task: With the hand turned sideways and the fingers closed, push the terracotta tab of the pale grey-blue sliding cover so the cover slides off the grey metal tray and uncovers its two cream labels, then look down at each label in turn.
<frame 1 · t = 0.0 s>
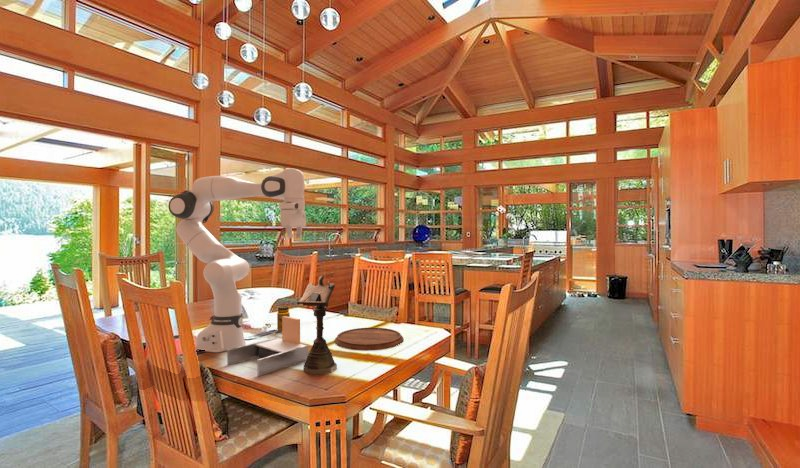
hand: (294, 237, 173), 48 cm above the table, tool pointing down, fingers open, 8 cm apart
grey metal tray: (281, 358, 161), on the table
cutting board: (369, 341, 187), on the table
sliding cover: (281, 333, 161), point 10 cm above the table, slide at 0.0 cm
condiment: (282, 330, 206), on the table
dark ornate pedestal stand: (319, 371, 146), on the table
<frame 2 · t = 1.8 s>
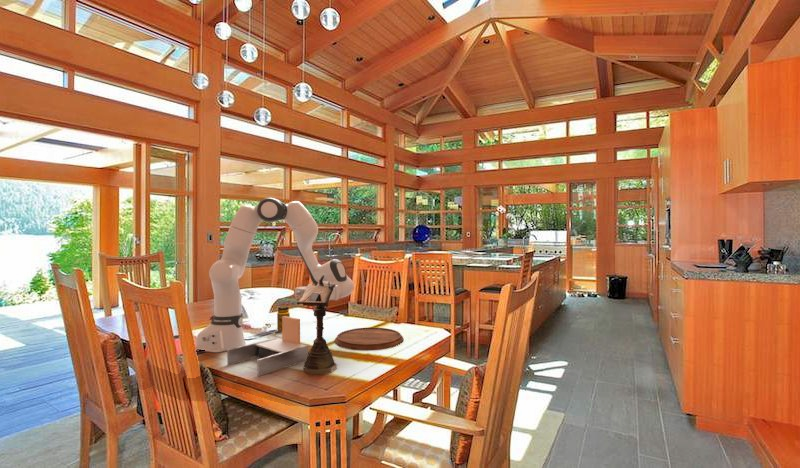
hand: (300, 295, 169), 24 cm above the table, tool horizontal, fingers open, 5 cm apart
nothing on the table moved.
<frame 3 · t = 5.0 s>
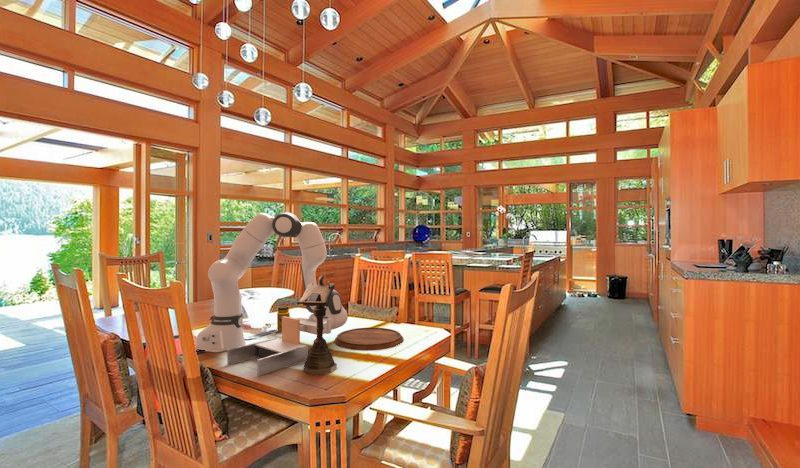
hand: (291, 329, 165), 10 cm above the table, tool horizontal, fingers closed, pressing on sliding cover
sliding cover: (280, 333, 161), point 10 cm above the table, slide at 0.2 cm, touching gripper
everything else where it was.
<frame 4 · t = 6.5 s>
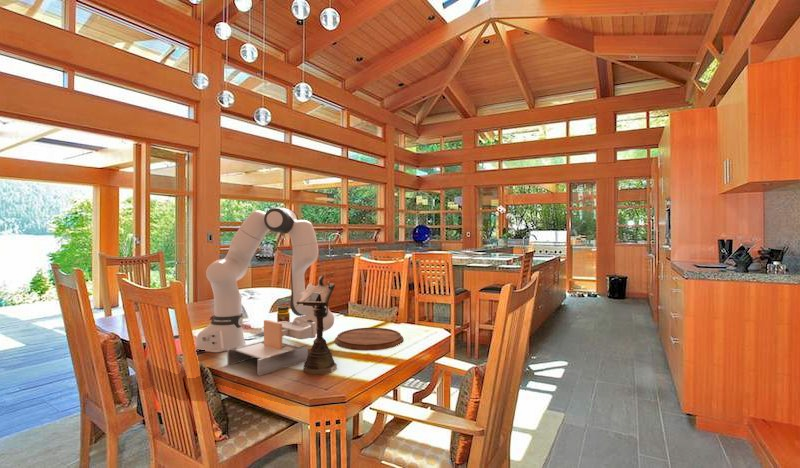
hand: (274, 333, 159), 10 cm above the table, tool horizontal, fingers closed, pressing on sliding cover
sliding cover: (262, 337, 154), point 10 cm above the table, slide at 8.8 cm, touching gripper
everything else where it was.
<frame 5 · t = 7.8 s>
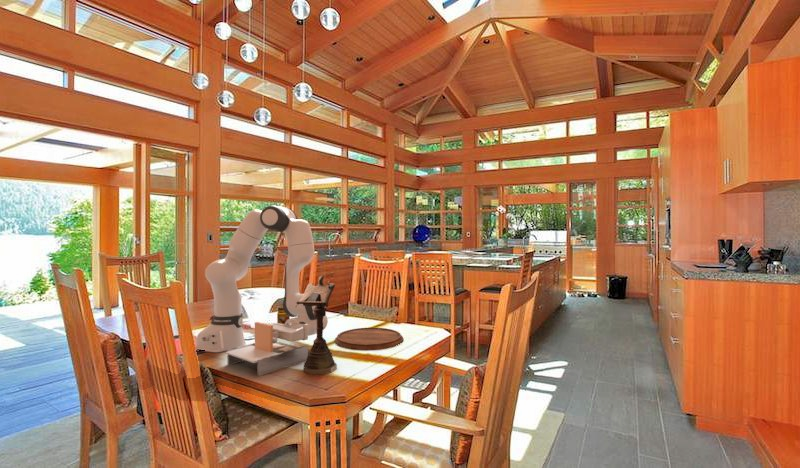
hand: (265, 335, 155), 10 cm above the table, tool horizontal, fingers closed, pressing on sliding cover
sliding cover: (252, 340, 151), point 10 cm above the table, slide at 12.9 cm, touching gripper
everything else where it was.
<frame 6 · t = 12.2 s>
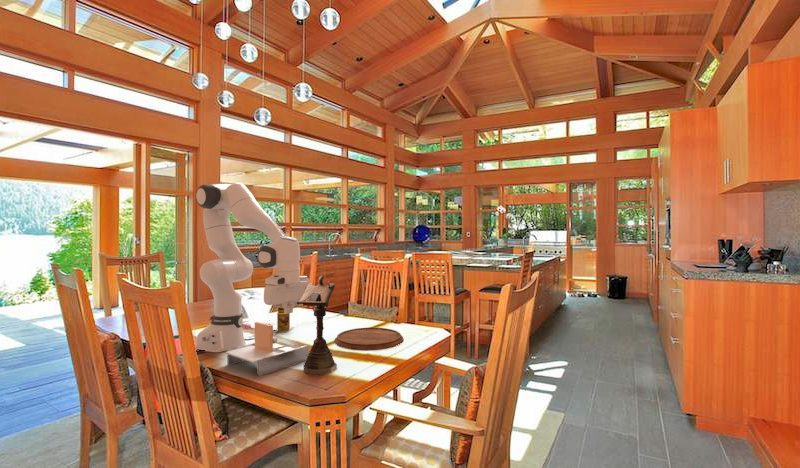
hand: (288, 313, 157), 19 cm above the table, tool pointing down, fingers closed
sliding cover: (252, 340, 151), point 10 cm above the table, slide at 12.9 cm
everything else where it was.
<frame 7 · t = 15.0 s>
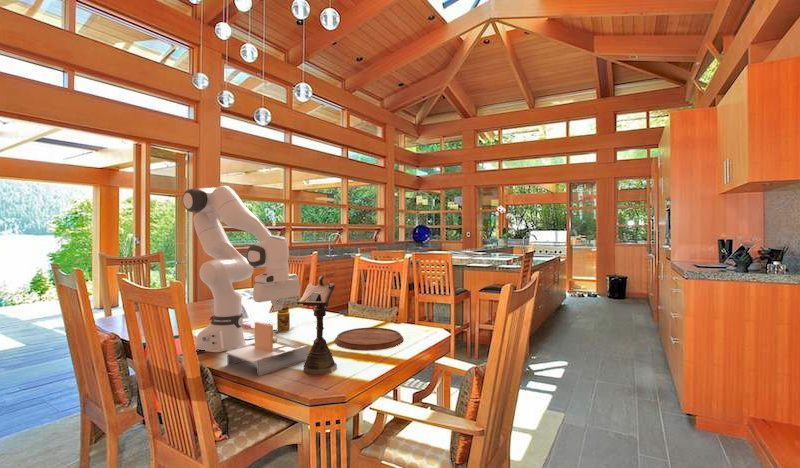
hand: (277, 310, 162), 19 cm above the table, tool pointing down, fingers closed
nothing on the table moved.
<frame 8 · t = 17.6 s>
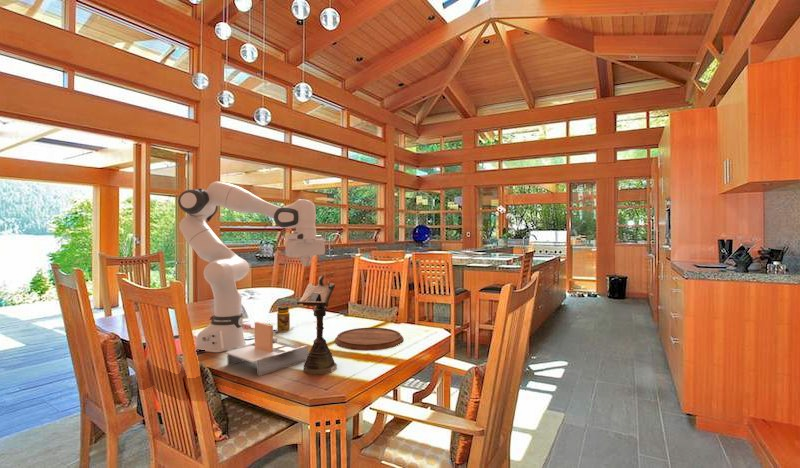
hand: (306, 266, 181), 35 cm above the table, tool pointing down, fingers closed
nothing on the table moved.
at the end: sliding cover slide at 12.9 cm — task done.
